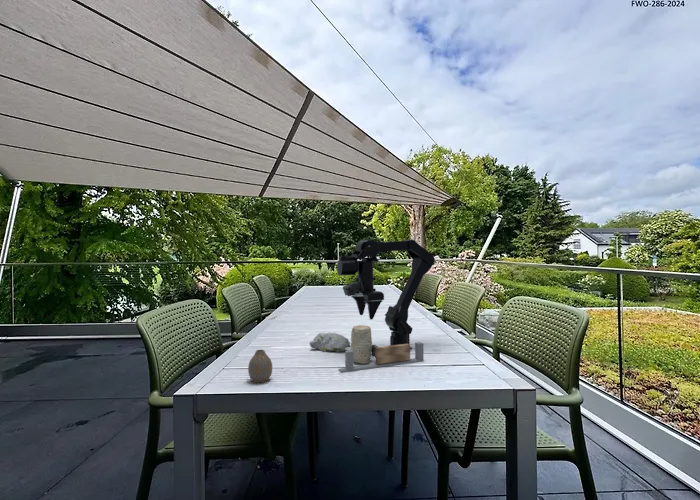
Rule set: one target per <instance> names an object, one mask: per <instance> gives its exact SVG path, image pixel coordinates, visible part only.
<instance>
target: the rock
mask: <svg viewBox="0 0 700 500" xmlns="http://www.w3.org/2000/svg"><path fill="white" fill-rule="evenodd" d="M312 340H313V341H310V342H309V345H310V348H312V349H316V348H317V349H318V350H319V351H323V352H326V351H330V352H331V351H336V352H338V353H339V352H342V351H344V350H345V349H347V348H350V347H351V341H350V340H349V339H348V338H347V337H345V336H344V335H342V334H339V333H337V332H327V333H325V332H318V334H316V336H315V337H314V338H313V339H312Z"/></svg>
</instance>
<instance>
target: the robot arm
mask: <svg viewBox="0 0 700 500" xmlns="http://www.w3.org/2000/svg"><path fill="white" fill-rule="evenodd" d="M399 251H406V253H407V254H408V256H409V257H410V258H411V259H412V260H411V261H412V262H411V271H410V274H409V276H408V278H407V281H406V282H405V285H404V287H403V289H402V291H401V294H400V296H399V297H398V300H397V302H396V304H395V305H393V306H391V305H389V306H388V308H387V312H386V313H385V314H384V316H385V318H384V321H385V324H386V326H388V329H389V331H391V334H390V336H389V338H390V339H389V343H390V345H389V346H392V345H400V344H410V343H411V342H410V340H411V339H410V336H411V335H412V332H413V327H412V326H411V325H410V324H409V323H408V318H409V307H410V306H411V303H412V301H413V299H414V298H415V295H416V293H417V292H418V291H417V290H418V288H419V286H420V284H421V282H422V279H423V277H424V276H425V275H426V274H427V273H428V272H429V271H430V270H431V269H432V266H434V264H435V261H436V259H435V256H434V254H433V253H432V252H430V251H428V250H427V249H426V248H424V246H421V244H419V243H418V242H417V241H415V240H414V239H405V240H397V241H392V240H391V241H378V240H370V239H366V240H359V241H357V243H356V245H355V249H354V251H353V252H352V254H351V255H350V256H339V257H338V261H337V264H336V272H337V275H338V276H355V275H356V274H357V276H355V278H354V280H355V281H353V282H350V283H348V284H346V285H344V286H342V289H343V293H344V295H345V296H348V297H351V298H352V299H353V300H354V301H355V304H356V306H357V310H358V313H359V315H360V316H363V315H364V313H365V308H366V306H367V310H368V317H369V320H374V318H375V316H376V314H377V311H378V308H379V307H380V305H381V303H382V302H383V301H384V300H385V294H384V292H383V291H378V290H376V288H375V287H374V285H375V284H374V281H376V278H377V277H374V263H379V262H380V259H378V258H377V257H376V255H378V254H381V253H384V252H399ZM410 345H411V344H410ZM412 349H413V348H412V346H410V350H412Z"/></svg>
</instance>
